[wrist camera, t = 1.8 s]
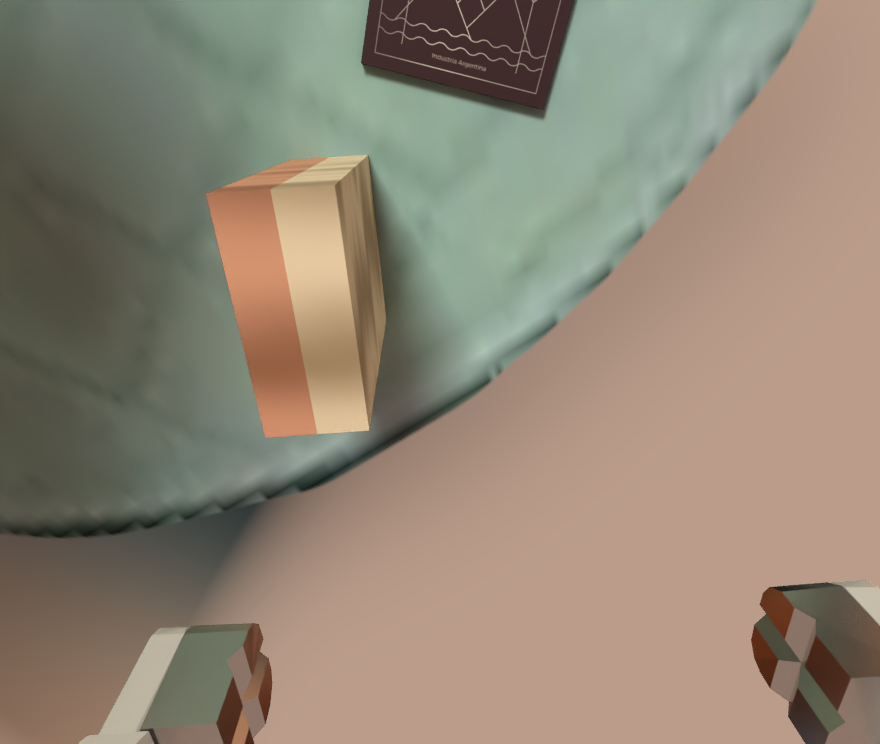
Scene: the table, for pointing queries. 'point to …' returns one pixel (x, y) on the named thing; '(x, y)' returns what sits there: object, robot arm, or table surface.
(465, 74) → the chocolate bar
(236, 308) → the tan wooden block
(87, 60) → the table surface
